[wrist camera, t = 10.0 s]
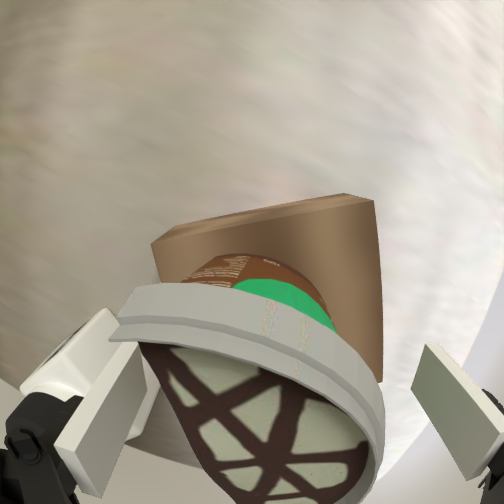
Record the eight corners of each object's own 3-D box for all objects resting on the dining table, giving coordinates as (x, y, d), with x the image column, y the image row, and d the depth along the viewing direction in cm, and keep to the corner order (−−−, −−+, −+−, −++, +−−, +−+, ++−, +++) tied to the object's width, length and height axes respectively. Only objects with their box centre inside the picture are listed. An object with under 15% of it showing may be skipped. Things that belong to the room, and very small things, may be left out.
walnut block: (215, 366, 25) (207, 414, 19) (176, 225, 22) (150, 243, 16) (357, 339, 24) (382, 381, 18) (342, 192, 21) (373, 200, 15)
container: (60, 343, 24) (-19, 428, 12) (107, 304, 23) (14, 402, 11) (114, 402, 26) (62, 501, 13) (167, 373, 25) (121, 495, 12)
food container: (362, 391, 18) (390, 526, 8) (269, 409, 19) (251, 543, 9) (325, 197, 15) (387, 253, 5) (206, 229, 16) (97, 319, 6)
